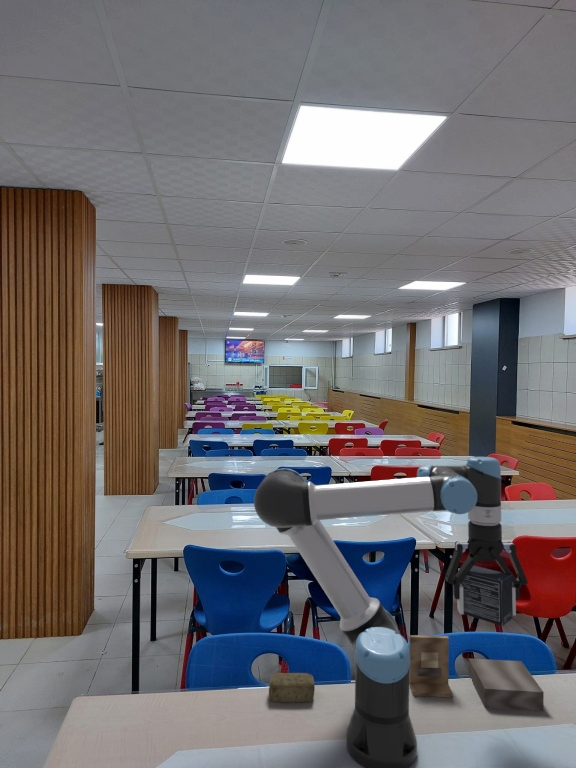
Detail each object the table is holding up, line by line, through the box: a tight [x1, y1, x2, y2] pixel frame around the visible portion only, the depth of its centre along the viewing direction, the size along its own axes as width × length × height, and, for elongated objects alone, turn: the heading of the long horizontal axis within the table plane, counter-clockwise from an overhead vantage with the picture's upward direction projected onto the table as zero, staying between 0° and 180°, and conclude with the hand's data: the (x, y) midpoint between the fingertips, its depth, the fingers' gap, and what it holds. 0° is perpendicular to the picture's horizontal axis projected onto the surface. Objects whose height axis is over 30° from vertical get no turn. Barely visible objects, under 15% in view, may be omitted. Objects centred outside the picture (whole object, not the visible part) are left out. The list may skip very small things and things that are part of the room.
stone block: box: [268, 672, 315, 703], centre depth 128 cm, size 6×12×5 cm, turn 92°
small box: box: [461, 565, 514, 627], centre depth 121 cm, size 11×6×10 cm, turn 44°
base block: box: [468, 658, 545, 712], centre depth 131 cm, size 14×14×5 cm
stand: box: [409, 634, 454, 698], centre depth 132 cm, size 10×6×13 cm, turn 88°
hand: (486, 612), depth 121 cm, fingers closed on small box, 11 cm apart
